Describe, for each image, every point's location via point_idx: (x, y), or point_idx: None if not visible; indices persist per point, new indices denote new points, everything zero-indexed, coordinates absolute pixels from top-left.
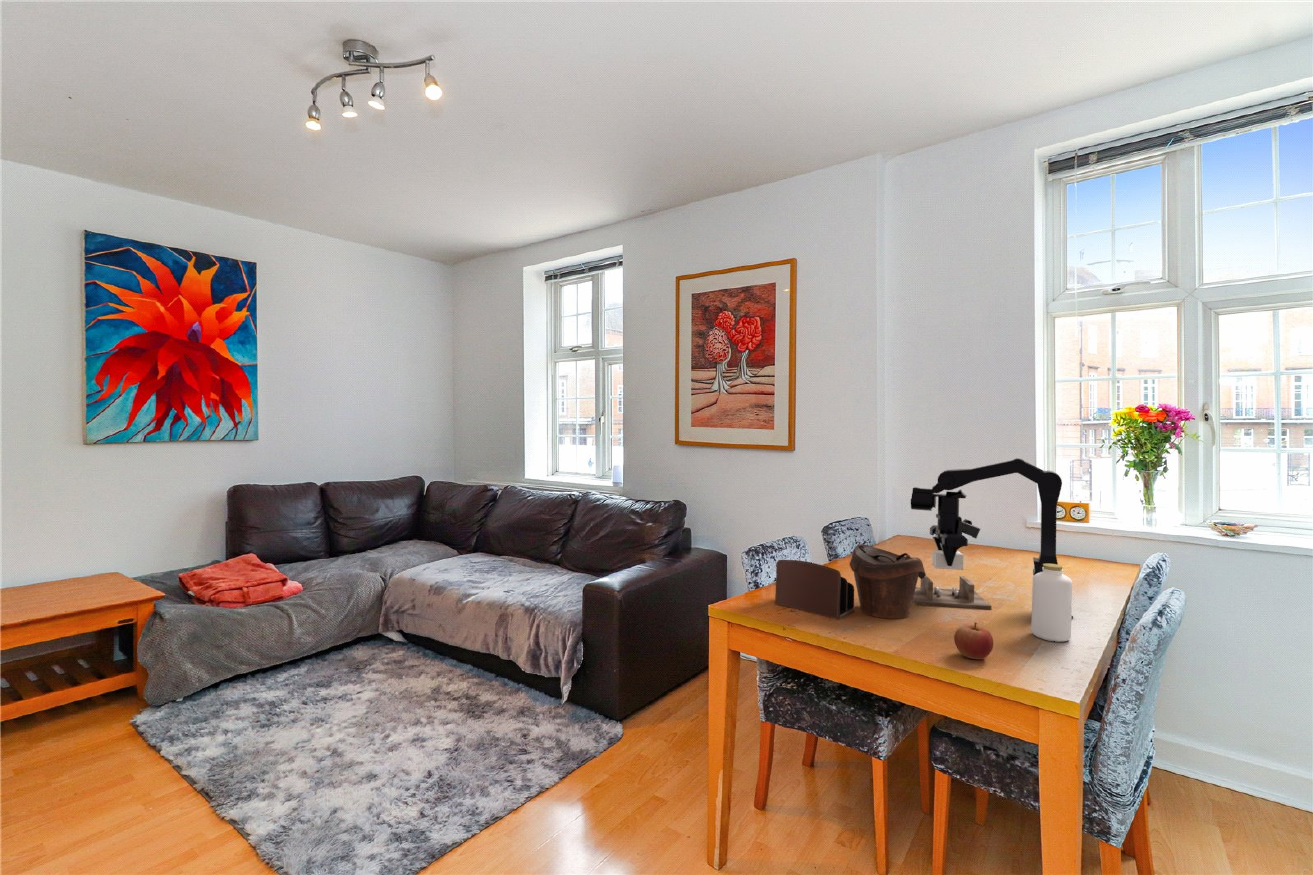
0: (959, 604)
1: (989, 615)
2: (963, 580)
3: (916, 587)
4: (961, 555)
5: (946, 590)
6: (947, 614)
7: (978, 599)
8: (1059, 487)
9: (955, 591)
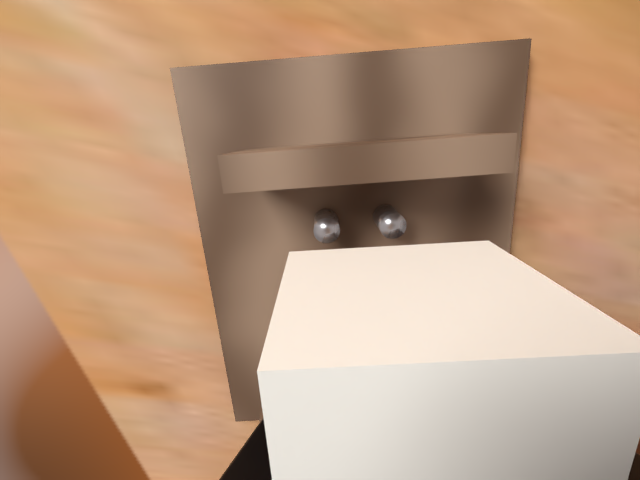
0: (510, 224)
1: (634, 88)
2: (339, 184)
3: (232, 379)
4: (637, 376)
5: (238, 243)
6: (623, 295)
7: (394, 90)
8: None
9: (401, 235)
